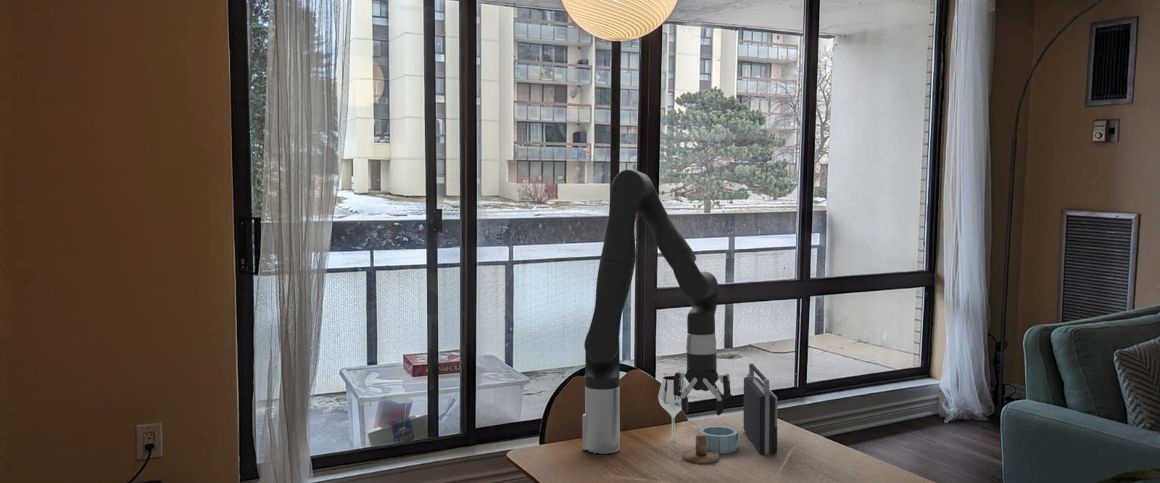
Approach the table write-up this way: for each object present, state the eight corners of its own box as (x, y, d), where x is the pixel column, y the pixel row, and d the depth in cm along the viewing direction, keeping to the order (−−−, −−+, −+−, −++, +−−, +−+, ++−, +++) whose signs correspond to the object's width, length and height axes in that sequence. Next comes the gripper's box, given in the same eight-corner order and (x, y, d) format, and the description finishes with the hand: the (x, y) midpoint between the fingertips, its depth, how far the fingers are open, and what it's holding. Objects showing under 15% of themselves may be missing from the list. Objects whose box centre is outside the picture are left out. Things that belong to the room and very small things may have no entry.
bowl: (695, 452, 224) (695, 434, 224) (704, 442, 234) (704, 424, 233) (733, 456, 221) (733, 437, 220) (740, 446, 230) (740, 428, 230)
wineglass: (694, 443, 233) (694, 378, 232) (671, 448, 228) (671, 382, 227) (674, 436, 240) (674, 373, 239) (652, 441, 235) (652, 377, 234)
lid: (679, 461, 215) (679, 438, 215) (688, 451, 224) (688, 429, 223) (714, 465, 212) (714, 441, 212) (722, 455, 220) (722, 432, 220)
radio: (779, 456, 221) (780, 380, 220) (759, 456, 221) (759, 380, 220) (761, 431, 245) (761, 362, 244) (743, 431, 245) (743, 362, 244)
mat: (679, 463, 215) (679, 461, 215) (688, 453, 224) (688, 451, 224) (714, 467, 212) (714, 465, 212) (722, 457, 220) (722, 455, 220)
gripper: (732, 349, 217) (732, 412, 218) (678, 346, 223) (678, 408, 223) (726, 354, 210) (727, 419, 211) (670, 351, 216) (671, 415, 216)
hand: (702, 413), depth 217 cm, fingers open, 8 cm apart
